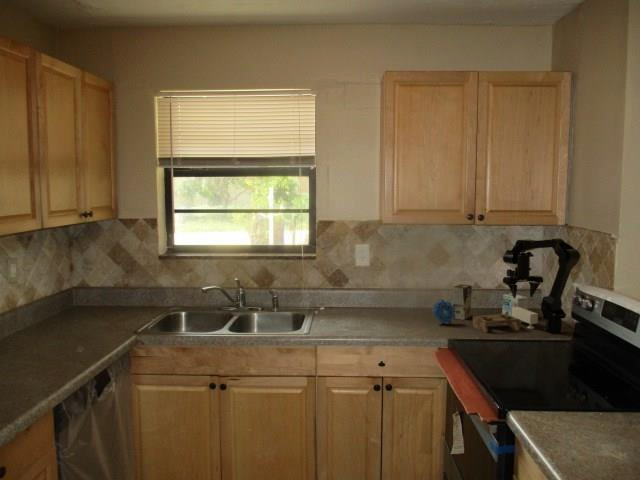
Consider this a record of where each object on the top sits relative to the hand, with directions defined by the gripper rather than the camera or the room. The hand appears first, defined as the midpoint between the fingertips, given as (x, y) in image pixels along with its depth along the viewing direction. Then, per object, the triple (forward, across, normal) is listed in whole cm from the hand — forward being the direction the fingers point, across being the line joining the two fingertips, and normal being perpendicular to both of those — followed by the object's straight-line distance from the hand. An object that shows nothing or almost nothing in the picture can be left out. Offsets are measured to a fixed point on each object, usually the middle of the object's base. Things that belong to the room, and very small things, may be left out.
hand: (522, 297), depth 254 cm
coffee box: (+12, +24, -16) cm, 31 cm away
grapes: (+12, +38, -6) cm, 41 cm away
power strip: (+12, +2, +4) cm, 13 cm away
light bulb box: (+12, -4, -12) cm, 17 cm away
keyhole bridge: (+12, +18, +6) cm, 23 cm away
